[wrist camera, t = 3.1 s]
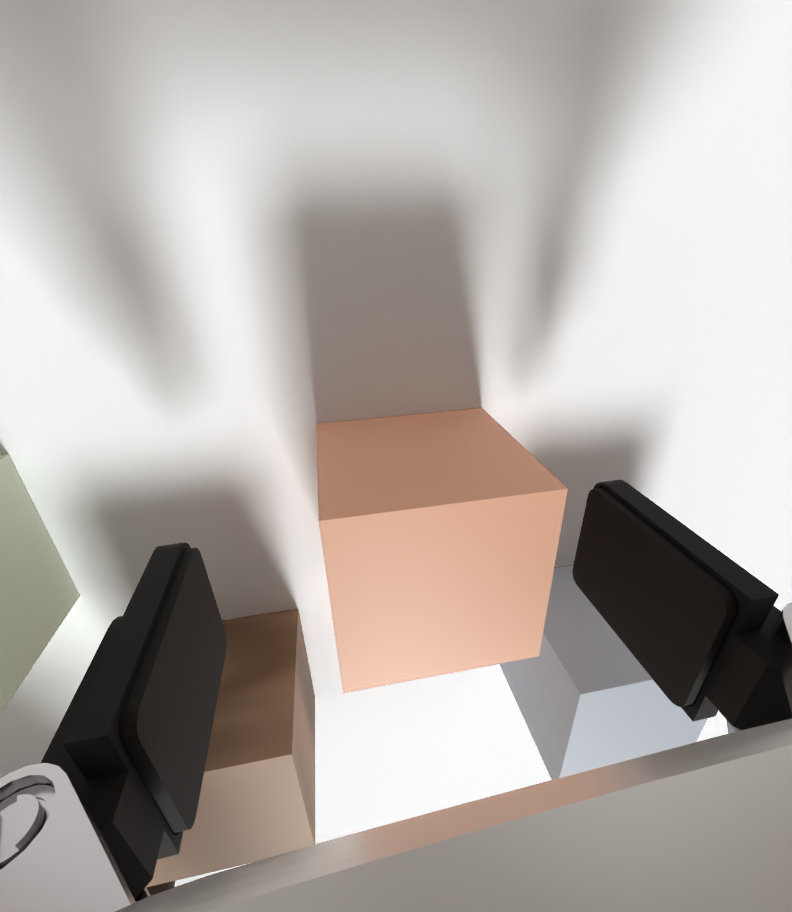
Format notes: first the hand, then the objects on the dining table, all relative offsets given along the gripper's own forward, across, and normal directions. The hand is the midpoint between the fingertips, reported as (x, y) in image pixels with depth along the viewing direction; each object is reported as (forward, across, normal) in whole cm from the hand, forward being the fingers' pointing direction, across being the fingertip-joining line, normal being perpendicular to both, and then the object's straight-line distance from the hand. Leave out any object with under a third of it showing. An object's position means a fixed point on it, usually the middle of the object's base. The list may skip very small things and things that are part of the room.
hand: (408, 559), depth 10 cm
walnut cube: (+4, +6, +7) cm, 10 cm away
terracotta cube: (+4, -1, 0) cm, 4 cm away
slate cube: (+4, -7, +7) cm, 11 cm away
